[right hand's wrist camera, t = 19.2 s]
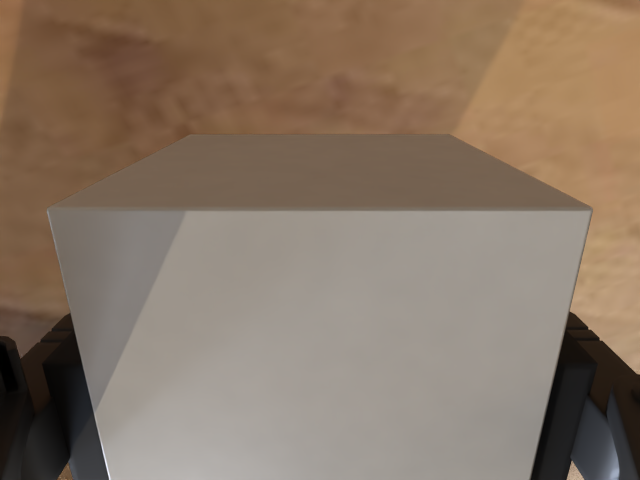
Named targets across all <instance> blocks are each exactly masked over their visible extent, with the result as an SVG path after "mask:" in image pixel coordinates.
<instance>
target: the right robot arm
mask: <svg viewBox="0 0 640 480" xmlns="http://www.w3.org/2000/svg"><path fill="white" fill-rule="evenodd" d="M571 461H573V462H574V464H575V465H576V467H577V469H578V470H579V472H580V473H581V475H582V476H583V478H584V479H585V480H640V375H638V374H636V373H635V372H634V371H633V370H632V369H631V368H630V367H629V366H628V365H627V364H626V363H625V362H624V361H623V360H622V359H621V358H620V357H619V356H617V355H616V354H615V353H614V352H613V351H612V350H611V349H610V348H609V347H608V346H607V345H606V344H605V343H604V342H603V341H600V340H599V337H598V336H597V335H596V334H595V333H594V332H593V331H592V330H588V327H587V326H586V325H585V324H584V323H583V322H582V321H581V320H580V319H579V318H578V317H577V316H576V315H575V314H573V313H572V312H570V311H569V315H568V320H567V324H566V328H565V333H564V337H563V341H562V346H561V350H560V354H559V359H558V363H557V367H556V371H555V376H554V380H553V384H552V389H551V393H550V397H549V402H548V406H547V410H546V415H545V419H544V423H543V428H542V432H541V436H540V440H539V445H538V449H537V453H536V458H535V462H534V466H533V471H532V475H531V479H530V480H567V476H568V472H569V469H570V465H571ZM68 462H69V466H70V470H71V473H72V477H73V480H109V476H108V472H107V467H106V463H105V459H104V455H103V450H102V446H101V442H100V437H99V433H98V429H97V424H96V420H95V416H94V412H93V407H92V403H91V399H90V394H89V390H88V386H87V381H86V377H85V373H84V369H83V364H82V360H81V356H80V351H79V347H78V343H77V338H76V334H75V330H74V325H73V321H72V317H71V313H69V314H68V315H66V316H65V317H64V318H62V319H61V320H60V321H59V322H58V323H57V324H56V325H55V326H54V327H53V328H52V331H49V332H48V333H47V334H46V335H45V336H44V337H43V338H42V339H41V342H40V343H37V344H36V345H35V346H34V347H33V348H32V349H31V350H30V351H29V352H28V353H27V354H25V355H24V356H23V357H22V358H21V359H20V357H19V353H18V350H17V346H16V343H15V341H14V340H12V339H11V338H9V337H6V336H0V480H57V478H58V477H59V475H60V474H61V472H62V471H63V469H64V467H65V466H66V464H67V463H68Z"/></svg>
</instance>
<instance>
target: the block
mask: <svg viewBox="0 0 640 480" xmlns="http://www.w3.org/2000/svg"><path fill="white" fill-rule="evenodd" d="M592 212H593V209H592V207H590V206H588V205H586V204H584V203H583V202H581V201H579V200H577V199H575V198H573V197H571V196H569V195H567V194H565V193H563V192H561V191H559V190H557V189H555V188H553V187H551V186H549V185H547V184H545V183H543V182H542V181H540V180H538V179H536V178H534V177H532V176H530V175H528V174H526V173H524V172H522V171H520V170H518V169H516V168H514V167H512V166H510V165H508V164H506V163H504V162H502V161H500V160H499V159H497V158H495V157H493V156H491V155H489V154H487V153H485V152H483V151H481V150H479V149H477V148H475V147H473V146H471V145H469V144H467V143H465V142H463V141H461V140H459V139H457V138H456V137H454V136H452V135H450V134H190V135H188V136H186V137H184V138H182V139H180V140H178V141H176V142H174V143H173V144H171V145H169V146H167V147H165V148H163V149H161V150H159V151H157V152H155V153H153V154H151V155H149V156H147V157H145V158H143V159H141V160H139V161H137V162H135V163H133V164H131V165H130V166H128V167H126V168H124V169H122V170H120V171H118V172H116V173H114V174H112V175H110V176H108V177H106V178H104V179H102V180H100V181H98V182H96V183H94V184H92V185H90V186H88V187H87V188H85V189H83V190H81V191H79V192H77V193H75V194H73V195H71V196H69V197H67V198H65V199H63V200H61V201H59V202H57V203H55V204H53V205H51V206H49V207H48V208H47V214H48V218H49V222H50V227H51V231H52V235H53V239H54V244H55V248H56V252H57V257H58V261H59V265H60V270H61V274H62V278H63V282H64V287H65V291H66V295H67V300H68V304H69V308H70V313H71V317H72V321H73V325H74V330H75V334H76V338H77V343H78V347H79V351H80V356H81V360H82V364H83V369H84V373H85V377H86V381H87V386H88V390H89V394H90V399H91V403H92V407H93V412H94V416H95V420H96V424H97V429H98V433H99V437H100V442H101V446H102V450H103V455H104V459H105V463H106V467H107V472H108V476H109V480H530V479H531V475H532V471H533V466H534V462H535V458H536V453H537V449H538V445H539V440H540V436H541V432H542V428H543V423H544V419H545V415H546V410H547V406H548V402H549V397H550V393H551V389H552V384H553V380H554V376H555V371H556V367H557V363H558V359H559V354H560V350H561V346H562V341H563V337H564V333H565V328H566V324H567V320H568V315H569V311H570V307H571V302H572V298H573V294H574V290H575V285H576V281H577V277H578V272H579V268H580V264H581V259H582V255H583V251H584V246H585V242H586V238H587V233H588V229H589V225H590V221H591V216H592Z"/></svg>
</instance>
